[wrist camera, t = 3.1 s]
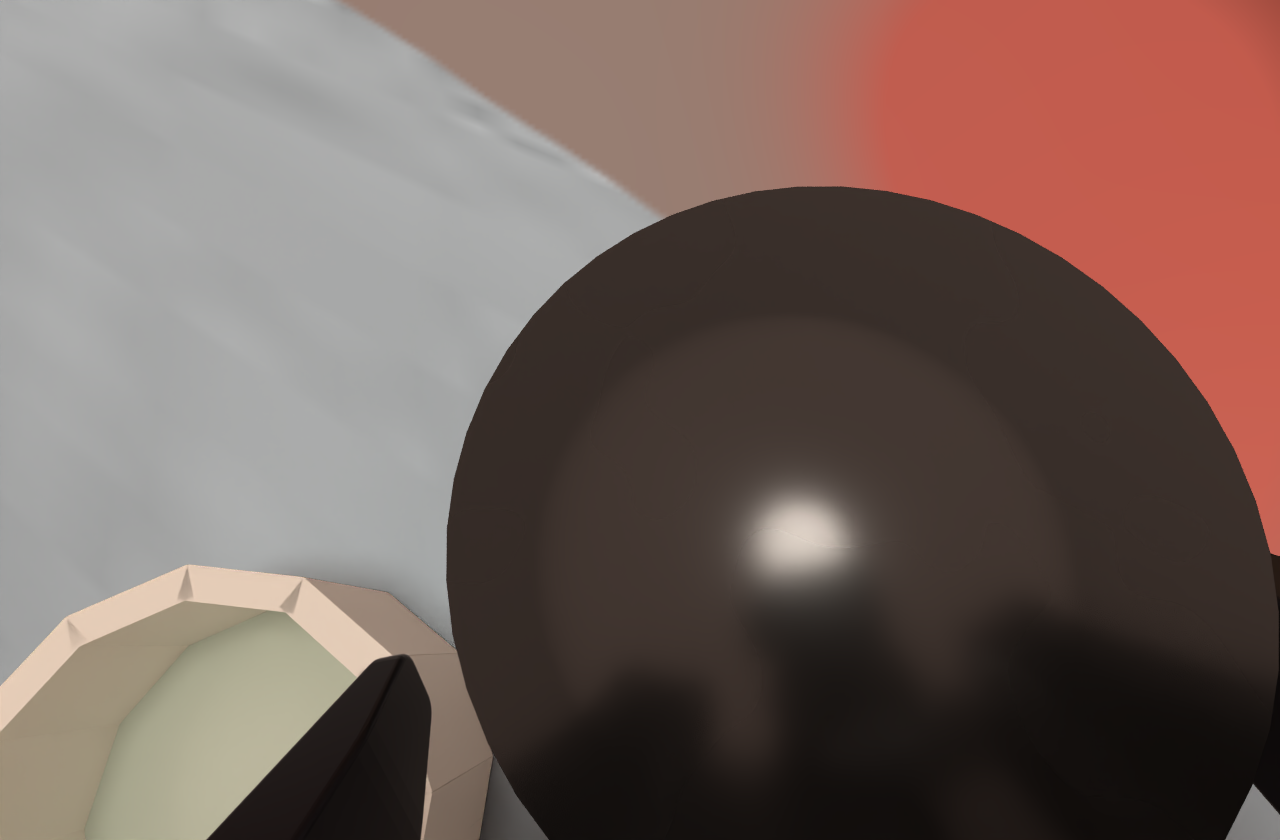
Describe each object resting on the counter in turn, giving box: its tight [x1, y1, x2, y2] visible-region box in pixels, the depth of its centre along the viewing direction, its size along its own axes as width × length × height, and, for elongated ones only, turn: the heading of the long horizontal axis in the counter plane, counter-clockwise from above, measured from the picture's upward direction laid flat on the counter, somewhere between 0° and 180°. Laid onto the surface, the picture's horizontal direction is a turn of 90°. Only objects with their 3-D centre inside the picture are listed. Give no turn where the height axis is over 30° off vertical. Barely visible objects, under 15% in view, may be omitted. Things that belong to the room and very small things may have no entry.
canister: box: [446, 187, 1279, 840], centre depth 10 cm, size 5×5×13 cm
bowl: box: [0, 565, 493, 840], centre depth 13 cm, size 9×9×4 cm
